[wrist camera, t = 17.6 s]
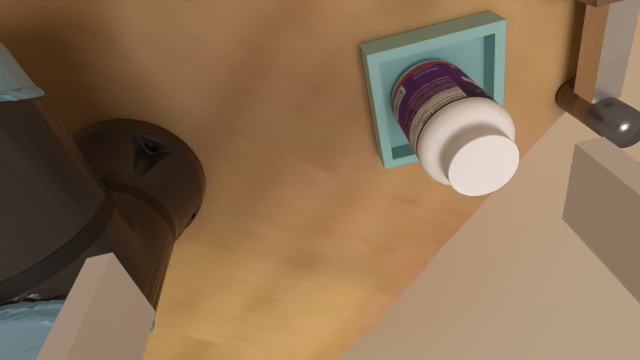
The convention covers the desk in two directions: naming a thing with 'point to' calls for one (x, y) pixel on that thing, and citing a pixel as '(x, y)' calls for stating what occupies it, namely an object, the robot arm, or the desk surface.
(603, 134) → the grey t-shaped piece
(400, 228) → the desk surface
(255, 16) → the desk surface
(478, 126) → the pill bottle
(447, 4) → the desk surface
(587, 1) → the mount
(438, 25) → the tray
